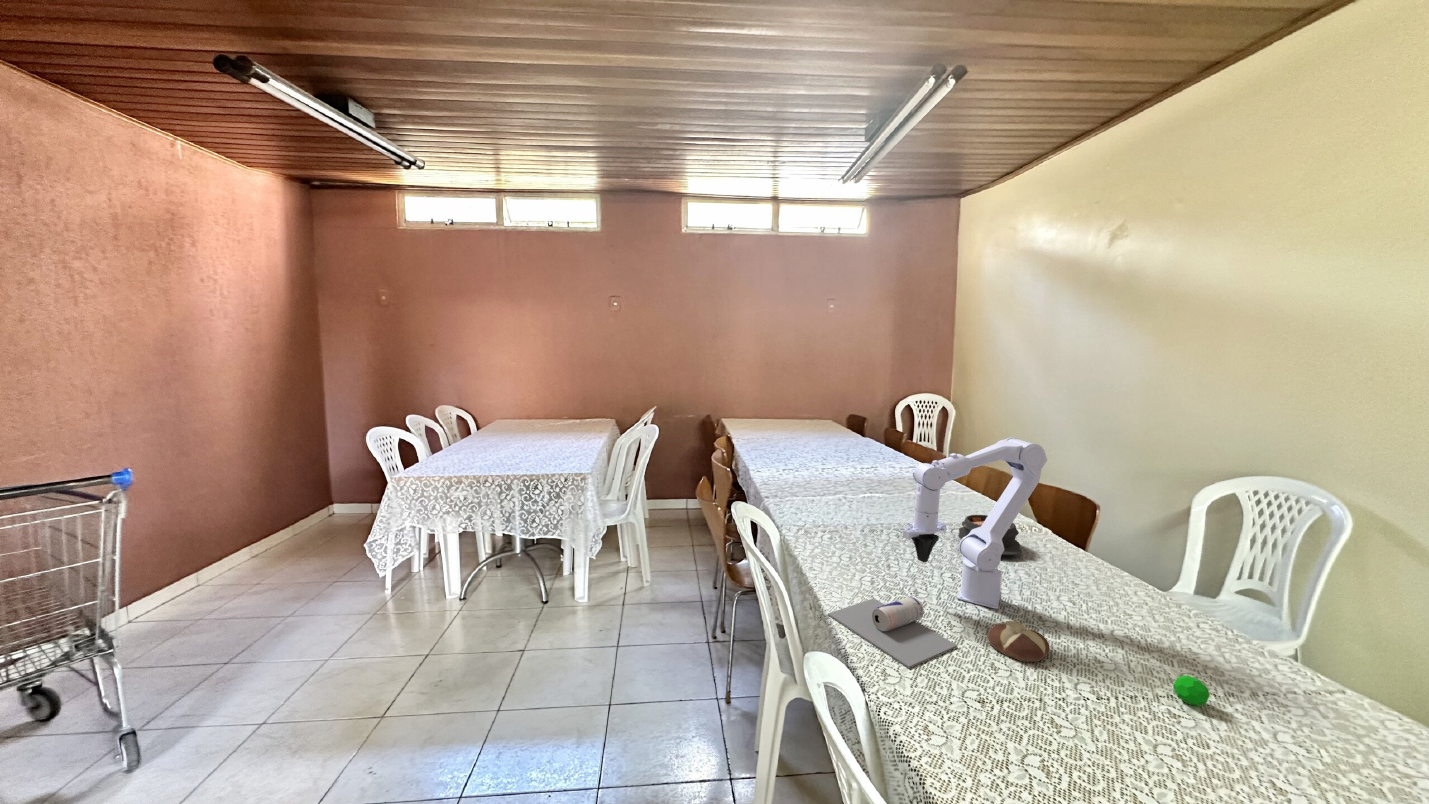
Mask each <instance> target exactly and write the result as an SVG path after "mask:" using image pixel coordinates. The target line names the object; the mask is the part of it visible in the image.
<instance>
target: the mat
mask: <svg viewBox="0 0 1429 804" xmlns="http://www.w3.org/2000/svg"><path fill="white" fill-rule="evenodd" d="M883 605H886V604H885V603H883V602H881V601H879V600H878V599H876V598H871V599H867V600H864V601H862V602H858V603H855V604H851V605H849V606H845V607H842V608H840V609H838V610H834V611H832V612H828V613H827V616H828V617H830V618H831V619H833V620H834V621H836V622H837V623H838V624H841V625H842V626H844V627H845V628H846V629H847V630H849V631H851V632H852V633H854V634H856V635H857V636H858V637H860V638H861V639H863V640H864V641H866V642H868V643H869V644H871V645H872V646H873V647H875V648H877V649H878V650H880V651H881V652H882V653H884V654H885V655H887V656H889V657H890V658H891V659H893V660H895V661H896V662H897V663H899V664H901V665H902V666H904V667H905V668H907V669H908V670H909V669H912V668H913V667H916V666H918V665H920V664H922V663H925V662H928V661H929V660H932V659H933V658H937V657H939V656H941V655H943V654H944V653H945V654H946V653H947V652H949V651H952V650H955V649H956V648H957V649H958V644H956V643H955V642H953V641H951V640H950V639H947V637H944V636H942V635H940V634H938V633H937V632H936V631H933V630H932V629H929V628H928V627H926V626H924V625H922V624H921V623H919V622H917V621H914V622H912V623H909V624H906V625H903V626H900V627H898V628H895V629H892V630H889V631H880V630H879V629H878V628H877V627H876V626H875V625H874V623H873V620H872V612H873V610H874V609H876V608H877V607H880V606H883Z"/></svg>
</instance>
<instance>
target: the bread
mask: <svg viewBox="0 0 1429 804" xmlns="http://www.w3.org/2000/svg"><path fill="white" fill-rule="evenodd" d="M987 634H988V635H987V641H988V642H989V644H990V646H991V647H992V648H993V649H995V651H997V652H1000V653H1002V654H1003V655H1005V656H1008V657H1010V658H1011V659H1012V658H1013V659H1015V660H1018V661H1019V662H1025V663H1036V662H1039V661H1041V660H1043V659H1044V658H1045V657H1047V656H1048V655H1049V654H1050V649H1051V648H1050V644H1049V641H1048V640H1047V638H1046V637H1045V636H1044V635H1043V634H1041V633H1040V632H1038V631H1036V630H1034V629H1030V628H1029V629H1028V628H1027V627H1026V625H1024V624H1023V623H1021V622H1019V621H1014V620H1007V621H1004V622H1002V623H996V624H994V625H993V626H992V627H991V628H990V630H989V631H988V633H987Z"/></svg>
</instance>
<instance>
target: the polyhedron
mask: <svg viewBox="0 0 1429 804" xmlns="http://www.w3.org/2000/svg"><path fill="white" fill-rule="evenodd" d="M1172 687H1173V690H1174V693H1175V695H1176V696H1177V697H1178V698H1179V699H1180V700H1182V701H1183V702H1184V703H1186V704H1189V705H1191V706H1196V707H1199V706H1204V705H1206V703H1207V702H1208V700H1209V698H1210V695H1211V694H1210V692H1209V689H1208V687H1207V686H1206V685H1205V684H1204V683H1203V682H1202V681H1201V680H1200V679H1198V678H1196V676H1195V677H1193V676H1191V675H1180V676H1178V677H1177V678H1176V679H1175V681H1174V682H1173V686H1172Z"/></svg>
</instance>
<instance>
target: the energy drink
mask: <svg viewBox="0 0 1429 804" xmlns="http://www.w3.org/2000/svg"><path fill="white" fill-rule="evenodd" d="M924 612H925V611H924V606H923V604H922V603H921V601H920V600H919V599H918V598H916V597H915V596H909V597H905V598H902V599H900V600H896V601H892V602H890V603H886V604H885V605H883V606H880V607H877V608H876V609H874V610H873V612H872V620H873V623H874V625H875V626H876V627H877V628H878V629H879V630H880V631H889V630H892V629H895V628H898V627H900V626H903V625H906V624H909V623H912V622H914V621H915V622H917V621H920V620H921V619H922V618H923V617H924V614H925V613H924Z"/></svg>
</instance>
